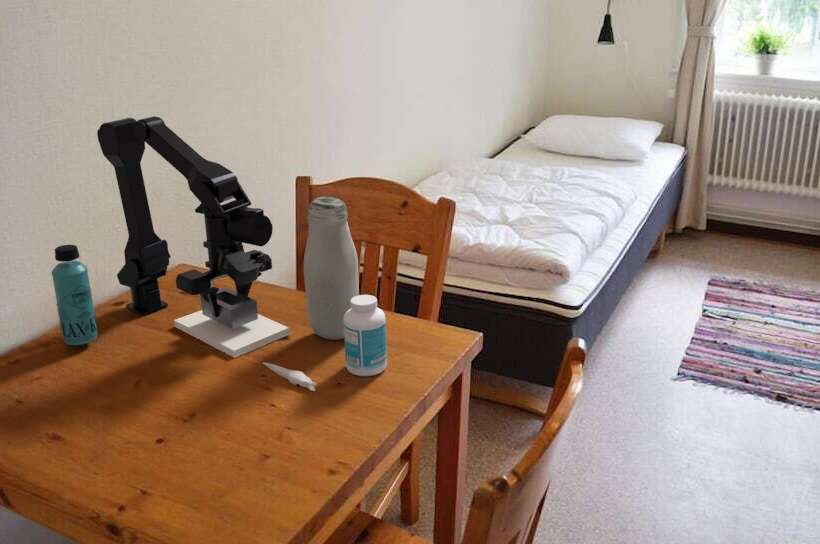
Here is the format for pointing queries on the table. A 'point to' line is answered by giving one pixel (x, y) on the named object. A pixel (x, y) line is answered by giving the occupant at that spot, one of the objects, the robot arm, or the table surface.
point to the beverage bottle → (73, 297)
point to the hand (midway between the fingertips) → (229, 311)
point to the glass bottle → (329, 267)
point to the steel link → (232, 308)
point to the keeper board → (232, 333)
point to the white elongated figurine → (293, 376)
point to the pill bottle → (365, 337)
